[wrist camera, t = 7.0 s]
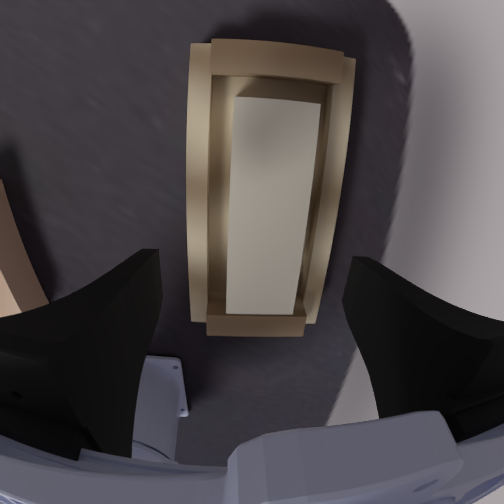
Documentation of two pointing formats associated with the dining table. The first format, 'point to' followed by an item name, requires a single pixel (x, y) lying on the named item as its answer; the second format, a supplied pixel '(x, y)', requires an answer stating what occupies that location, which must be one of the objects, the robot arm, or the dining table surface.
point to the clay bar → (269, 202)
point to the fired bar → (15, 267)
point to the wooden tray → (219, 165)
